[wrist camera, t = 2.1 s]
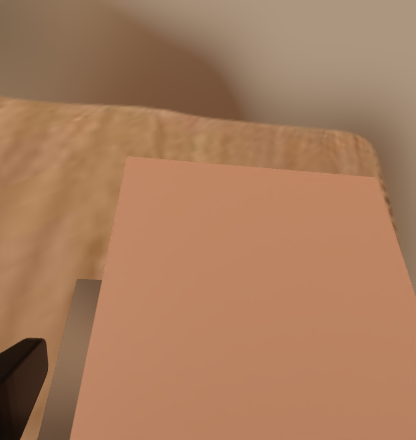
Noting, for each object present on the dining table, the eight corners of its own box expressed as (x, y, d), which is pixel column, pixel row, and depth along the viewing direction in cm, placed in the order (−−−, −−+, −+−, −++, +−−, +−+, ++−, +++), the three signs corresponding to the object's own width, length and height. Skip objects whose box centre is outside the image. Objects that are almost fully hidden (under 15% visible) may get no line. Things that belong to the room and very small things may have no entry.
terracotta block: (250, 407, 14) (487, 515, 3) (147, 405, 13) (52, 523, 3) (245, 303, 16) (376, 177, 6) (158, 299, 16) (127, 156, 5)
